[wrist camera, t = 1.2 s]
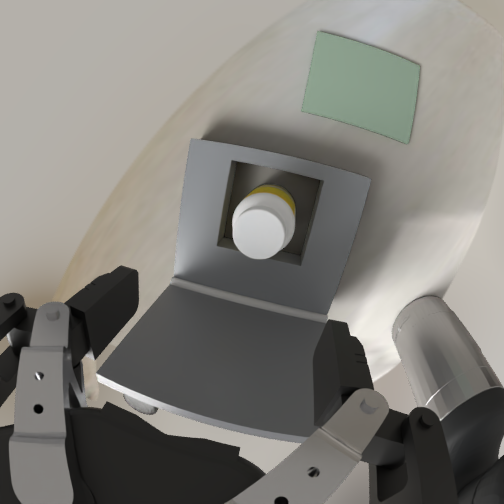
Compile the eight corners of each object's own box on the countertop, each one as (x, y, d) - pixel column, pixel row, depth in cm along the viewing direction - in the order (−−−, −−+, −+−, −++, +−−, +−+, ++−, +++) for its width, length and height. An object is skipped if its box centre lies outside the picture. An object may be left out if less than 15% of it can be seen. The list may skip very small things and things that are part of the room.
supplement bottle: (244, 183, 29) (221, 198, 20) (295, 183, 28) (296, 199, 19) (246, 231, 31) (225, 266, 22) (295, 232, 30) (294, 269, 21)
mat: (418, 67, 21) (420, 66, 20) (406, 144, 24) (408, 144, 24) (317, 32, 21) (317, 31, 21) (301, 111, 25) (301, 110, 25)
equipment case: (364, 175, 27) (462, 220, 9) (321, 311, 33) (331, 446, 15) (200, 139, 28) (76, 136, 10) (182, 276, 34) (98, 381, 17)
